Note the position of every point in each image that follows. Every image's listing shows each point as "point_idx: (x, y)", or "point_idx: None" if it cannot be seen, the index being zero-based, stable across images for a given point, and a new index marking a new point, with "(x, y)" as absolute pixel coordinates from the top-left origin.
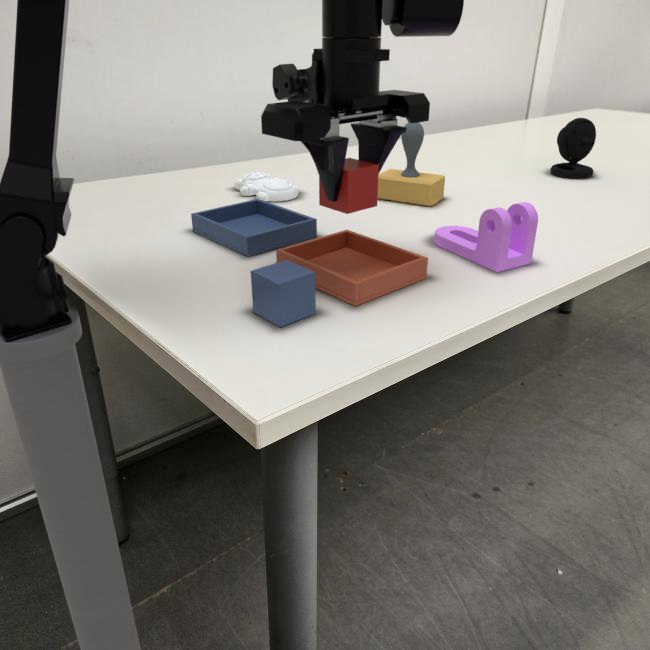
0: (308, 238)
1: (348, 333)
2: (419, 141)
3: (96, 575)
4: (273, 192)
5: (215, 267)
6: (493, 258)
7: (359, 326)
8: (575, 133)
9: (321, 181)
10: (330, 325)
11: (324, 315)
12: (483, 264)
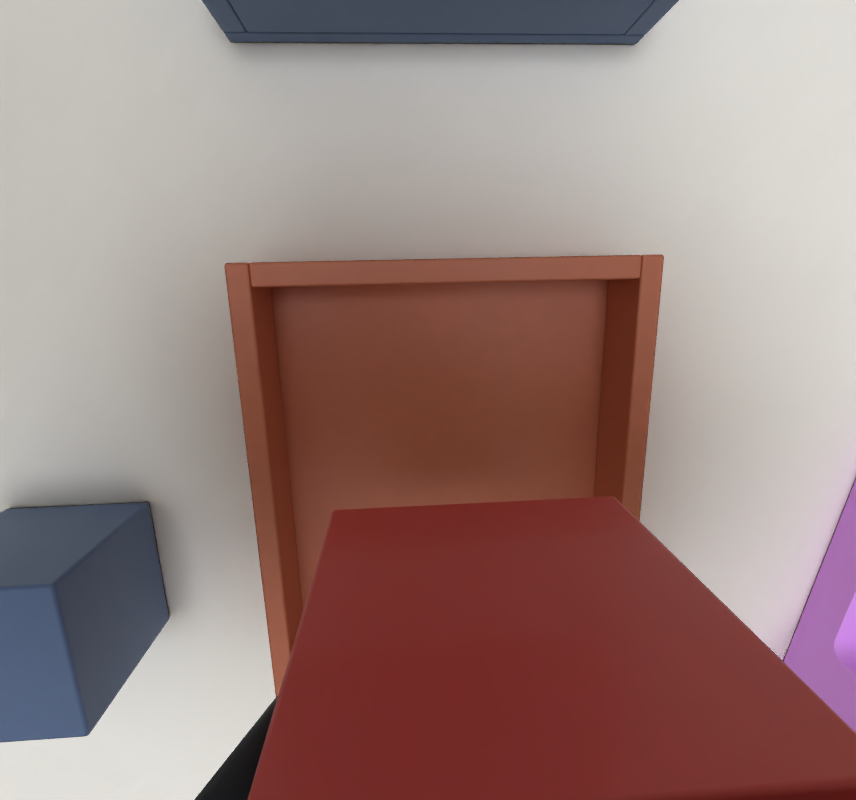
0: (586, 42)
1: (181, 734)
2: None
3: None
4: None
5: (44, 52)
6: None
7: (228, 723)
8: None
9: (208, 786)
10: (167, 683)
11: (187, 634)
12: (789, 661)
